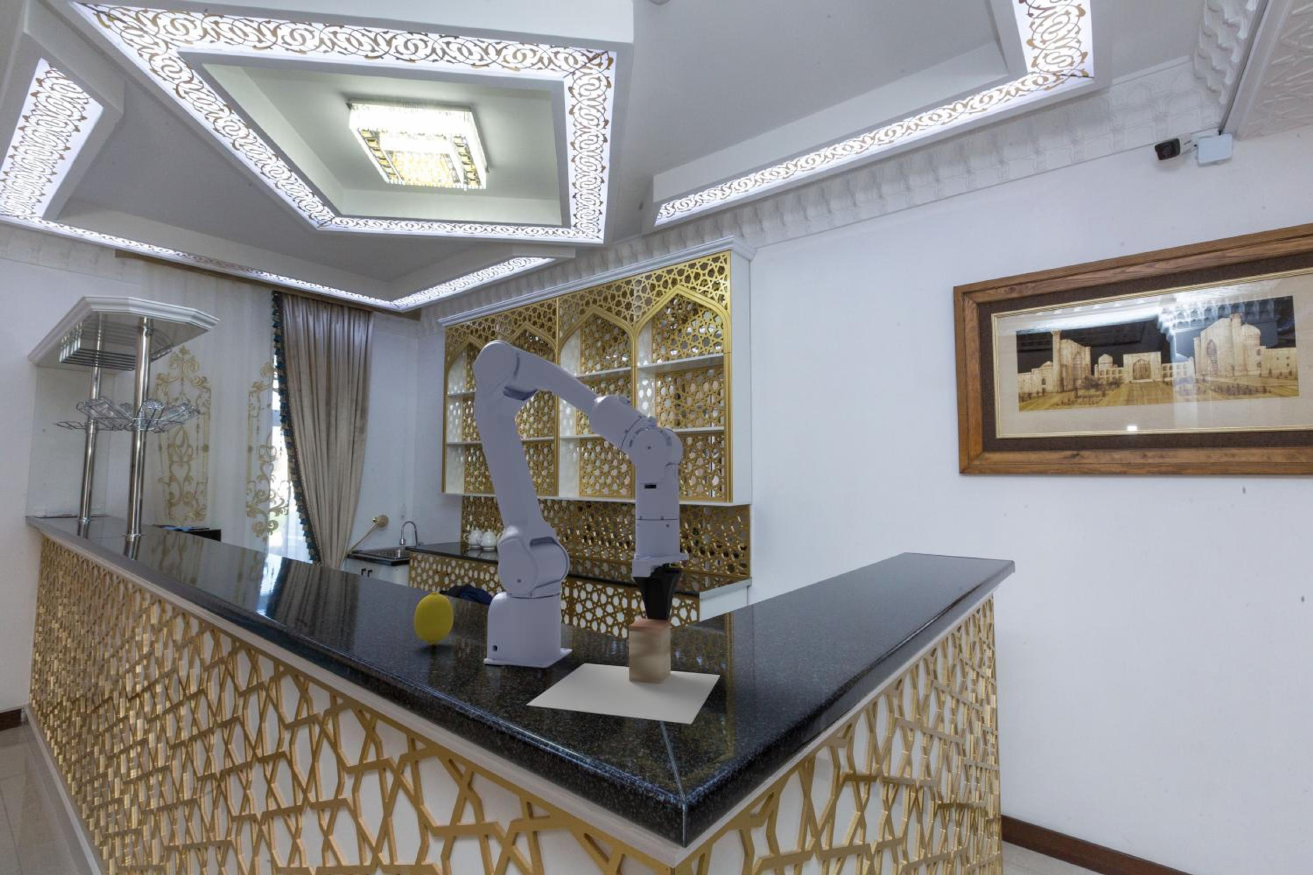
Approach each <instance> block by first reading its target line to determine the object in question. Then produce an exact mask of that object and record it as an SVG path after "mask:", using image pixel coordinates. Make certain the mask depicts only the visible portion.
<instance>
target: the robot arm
mask: <svg viewBox="0 0 1313 875" xmlns="http://www.w3.org/2000/svg"><path fill="white" fill-rule="evenodd" d="M471 368H472V373H473V375H474V379H475V392H474V403H473V417H474V421H475V424H476V428H477V431H478V435H479V440H480V443H481V447H482V450H483V454H484V458H485V461H486V464H487V469H488V472H489V476H490V480H491V483H492V487H493V491H494V494H495V499H496V502H497V505H498V509H499V513H500V516H501V520H502V523H503V524H502V525H503V527H504V530H503V532H502V535H501V536H500V538H499V539H498V541H497V544H496V549H497V554H498V564H497V577H498V580H499V583H500V585H501V586H502V588H503V589H504V590H505V591H503V592H502V591H501V592H499V593H497V594H496V595H494V596H493V598H492V599H491V602H490V605H489V608H488V612H487V637H486V638H487V640H486V641H487V642H486V646H487V647H486V649H487V650H486V651H487V652H486V658H483V664H488V665H500V666H504V665H511V666H520V667H531V668H541V669H542V668H543V669H544V668H545V669H546V668H549V667H551V666H552V665H554V664H555V663H557V662H558V661H560V660H561V659H564V658H565V657H566V656H568V655H569V654H571V653H572V652H573V649H571V648H561V646H562V645H561V644H562V643H561V642H562V641H561V640H562V639H561V636H562V635H561V634H562V631H561V630H562V629H561V628H562V625H561V622H562V581H564V579H566V577H567V576H568V574H569V572H570V571H569V570H570V566H571V561H570V557H569V553H568V551H567V550H566V548H565V547H564V545H562V544H561V543H560V542H561V541H560V540H559V539H558V536H557V532H556V530H555V529H554V528H553V527H552V526H551V525H550V524H549V523H548V522H547V521H546V520H545V519H544V517H543V513H542V510H541V507H540V503H539V499H538V496H537V493H536V488H535V486H534V482H533V478H532V475H531V471H530V468H529V464H528V460H527V456H526V453H525V451H524V446H523V444H522V440H521V436H520V432H519V429H518V425H517V422H516V416H517V414H518V413H519V411H520V410H521V409H522V408H523V407H524V406H526V405H527V403H529V401H530V400H531V399H532V398H533V397H535V395H536V394H538V393H539V392H540V391H542V392H551V393H552V394H554V395H555V396H557V397H559V398H560V399H561V400H563V401H564V402H567V403H568V404H569V405H571V406H573V407H574V408H576V409H577V410H579V411H580V412H582V413H583V414H585V415H587V418H588V420H587V421H588V425H589V428H590V429H591V430H592V431H593V432H595V434H597V435H599V436H600V437H601V438H603V439H604V440H605V441H607V442H609V443H610V444H611V445H613V446H614V447H616V448H617V449H618V450H619V451H621V452H623V453H624V454H626V455H628V458H629V460H630V461H631V463H632V465H634V467H635V491H634V492H635V499H634V500H635V553H634V554H633V559H631V560H632V562H631V568H632V571H631V576H632V579H633V581H634V583H635V584H636V586H637V588H638V590H639V592H640V596H641V599H642V601H643V606H644V610H645V615H646V619H655V620H670V616H671V611H672V604H673V600H674V595H675V592H676V589H677V585H678V583H679V581H680V579H681V576H682V575H683V568H681V567H671V564H673V563H679V562H680V561H687V560H689V559H690V554H689V553H687V552H685V553H684V552H681V550H680V549H681V547H680V546H681V544H680V543H681V541H680V540H681V539H680V538H681V537H680V535H681V532H680V531H681V530H680V482H679V464H680V462H682V459H683V456H684V444H683V442H682V440H681V438H680V437H679V436H678V435H677V434H676V433H675V432H674V430H673V429H670V428H666V427H659V426H658V423H659V419H658V418H656V417H654V416H653V415H650V416H647V415H646V414H644V413H643V412H641V411H640V410H638V409H636V407H634V406H632V405H631V403H632V399H630V398H628V397H627V396H625V395H622V394H621V395H619V396H617V395H616V394H607V395H603V396H601V395H599V394H598V393H597V392H596V391H594V390H593V389H591V388H590V387H589V386H588V385H587V384H585V383H583V382H582V381H580V380H579V379H578V378H576V377H575V376H573V374H571V373H570V372H568V371H567V370H565V369H564V368H563V367H561V366H560V365H559V364H557V363H555V362H552V361H550V360H547V359H545V358H543V357H542V356H541V355H539V354H537V353H533V352H532V353H531V352H530V351H529V352H528V351H526V350H524V349H521V348H519V347H517V346H514V345H512V344H511V343H510V342H507V341H505V340H502V339H496V340H492V341H489V342H488V343H486V344H485V345H484V346H483V348H481V351H480V352H479V353H478V354H477V357H476V358H475V361H474V362H473V364H472V367H471Z"/></svg>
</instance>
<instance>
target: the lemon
mask: <svg viewBox="0 0 1313 875" xmlns="http://www.w3.org/2000/svg"><path fill="white" fill-rule="evenodd" d="M453 624H454V609H453V605H452V603H451V601H450V599H449V598H447V597H446V596H444V595H442V594H440V593H439V592H437V591H432V592H431V593H430V594H428V595H426V596H425V597H423V598H422V599H421V600H420V601H419V603H418V604H417V606H416V608H415V612H414V617H413V628H414V632H415V634H416V636H417V637H418V638H419V639H420V640H422V641H423V642H426V643H427V644H428V645H430V644H436V643H437V644H438V643H439V642H441V641H442V640H444V639H445V638H447V636H448V635H449V634H450V632H451V630H452V628H453ZM437 644H436V645H437Z"/></svg>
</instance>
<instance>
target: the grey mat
mask: <svg viewBox="0 0 1313 875" xmlns="http://www.w3.org/2000/svg"><path fill="white" fill-rule="evenodd" d="M720 676H721V674H720V675H719V674H710V673H697V672H687V671H676V670H671V674H670V675H669V676H668V677H667V678H666V679H665V681H664V682H663V683H662V684H654V683H644V682H633V681H629V666H619V665H610V664H609V665H608V664H598V663H597V664H596V663H586V662H585V663H583V664H581V665H580V666H579V667H577V668H576V669H574V670H573V671H572V672H570V673H569V674H568V675H566V676H565V677H563V678H561V679H560V681H558V682H556V683H555V684H553V685H552V686H551V687H549V688H548V689H546V690H545V691H544V692H542V693H541V694H539V695H538V696H536V697H535V698H533V699H532V700H531V701H530V702H528V703H527V704H526V706H530V707H540V708H548V709H556V710H564V711H573V712H582V713H592V714H599V715H608V716H618V717H626V718H634V719H643V720H653V721H660V722H669V723H670V722H671V723H679V724H685V725H692V724H693V722H694V720H695V719H696V717H697V716H698V714H699V713H700V710H701V709H702V707H703V705H704V704H705V702H706V700H707V699H708V697H709V695H710V694H711V692H712V690H713V688H714V687H715V685H717V682H718V680H719V678H720Z"/></svg>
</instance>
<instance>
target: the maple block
mask: <svg viewBox="0 0 1313 875" xmlns="http://www.w3.org/2000/svg"><path fill="white" fill-rule="evenodd" d="M671 661H672V660H671V620H670V619H669V620H655V619H647V618H638V619H637V620H635V621H633V623H630V624H629V625H628V667H629V681H633V682H644V683H654V684H662V683H663V682H664V681H665V679H666V678H667V677H668V676H669V675H670V674H671V671H672V670H671V668H672V666H671V663H672V662H671Z"/></svg>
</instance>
